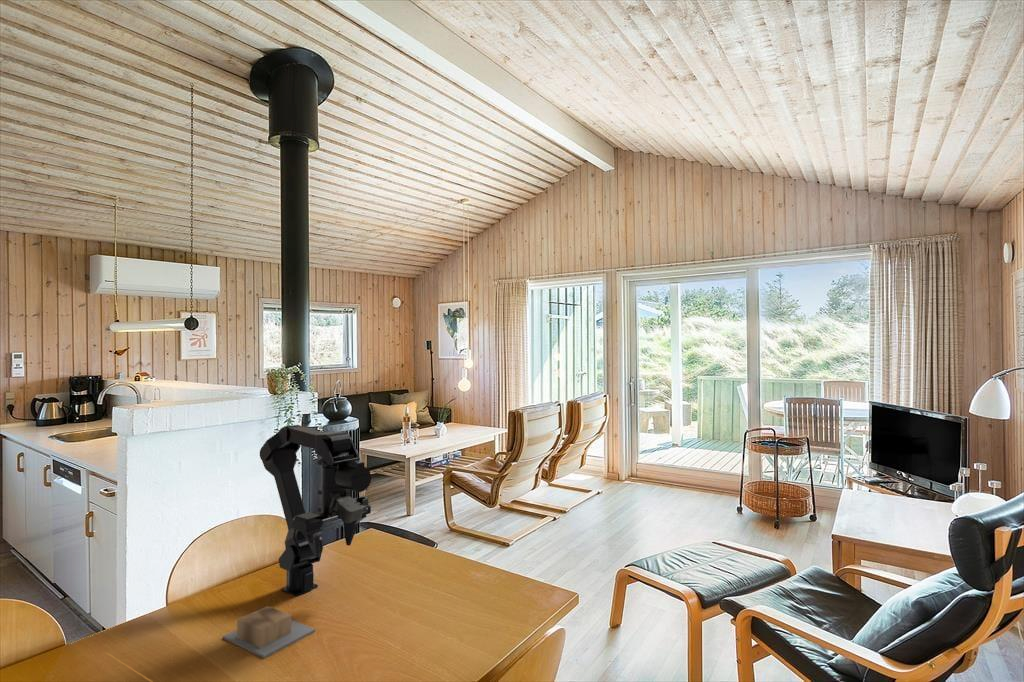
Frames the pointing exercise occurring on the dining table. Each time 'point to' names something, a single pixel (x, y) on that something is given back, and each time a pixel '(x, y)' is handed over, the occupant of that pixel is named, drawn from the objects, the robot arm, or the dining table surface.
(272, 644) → the rubber mat
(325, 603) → the dining table surface
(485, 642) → the dining table surface
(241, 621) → the light brown wooden block
